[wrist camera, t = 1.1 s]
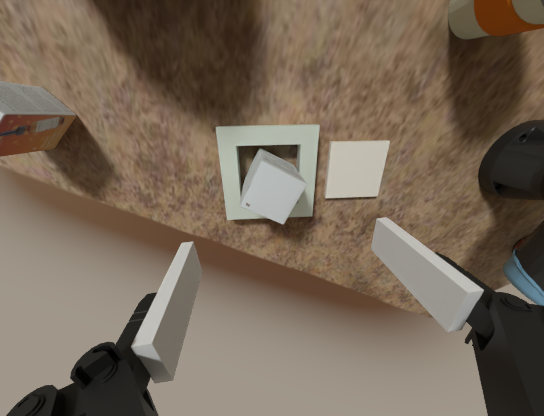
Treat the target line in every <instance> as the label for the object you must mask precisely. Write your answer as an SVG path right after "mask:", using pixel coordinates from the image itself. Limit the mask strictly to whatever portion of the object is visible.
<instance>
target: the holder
mask: <svg viewBox="0 0 544 416" xmlns="http://www.w3.org/2000/svg"><path fill="white" fill-rule="evenodd" d="M319 126H320V125H316V124H306V125H251V126H217V127H216V134H217V142H218V150H219V158H220V166H221V174H222V182H223V190H224V198H225V206H226V214H227V220H235V219H259V218H266V217H264V216H261V215H259V214H257V213H254V212H252V211H249V210H247V209H244V208H242V207H239V205H240V199H241V195H242V188H241V176H240V164H239V153H238V146H251V145H294V144H298V146H297V171H298V172H299V174H300V175H301V176H302V178H303V179H304V180H305V182H306V183H307V186H306V188H305V189H304V191H303V193H302V194H301V196H300V198H299V199H298V201H297V203H296V205H295V206H294V208H293V210H292V211H291V213H290V215H289V216H288V217H308V216H312V213H313V201H314V188H315V176H316V163H317V151H318V139H319Z"/></svg>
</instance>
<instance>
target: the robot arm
mask: <svg viewBox="0 0 544 416" xmlns="http://www.w3.org/2000/svg"><path fill="white" fill-rule="evenodd" d="M479 181H480V184H481V186H482V188H483V189H484V190H485V191H486V192H488V193H490V194H493V195H496V196H499V197H503V198H512V199H528V200H544V120H533V121H528V122H525V123H522V124H520V125H518V126H516V127H514V128H512V129H511V130H509V131H508V132H506V133H505V134H504V135H503V136H501V137H500V138H499V139H498V140H497V141H496V142H495V143H494V144H493V146H492V147H491V148H490V149H489V151H488V152H487V154H486V155H485V157H484V159H483V161H482V164H481V167H480V171H479ZM371 249H372V251H373V252H374V253H375V254H376V255H377V256H378V257H379V258H380V259H381V260H382V262H383V263H384V264H385V265H386V266H387V267H388V268H389V269H390V270H391V271H392V272H393V274H394V275H395V276H396V277H397V278H398V279H399V280H400V281H401V282H402V283H403V284H404V286H405V287H406V288H407V289H408V290H409V291H410V292H411V293H412V294H413V295H414V297H415V298H416V299H417V300H418V301H419V302H420V303H421V304H422V305H423V306H424V307H425V309H426V310H427V311H428V312H429V313H430V314H431V315H432V316H433V317H434V318H435V319H436V321H437V322H438V323H439V324H440V325H441V326H442V327H443V328H444V329H445V330H446V331H447V332H452V331H457V330H462V328H463V326H464V325H465V323H466V322H467V323H468V324H469V325H470V326H471V327H472V329H471V331H470V332H469V334H468V336H467V337H466V339H465V343H466V344H468V343H469V341H470V340H471V339H472V342H473V345H472V346H473V347H474V351H475V357H476V361H477V366H478V371H479V375H480V380H481V385H482V389H483V394H484V399H485V404H486V409H487V413H488V416H544V221H543V222H542V223H541V224H540V225H539V226H538V227H537V228H536V229H535V230H534V231H533V232H532V233H531V234H530V235H529V237H528V238H527V239H526V240H525V241H524V242H523V243H522V244H521V245H520V246H519V247H518V248H516V249H514V251H513V254H512V256H511V257H510V258H509V259H508V260H507V262H506V263H505V264H504V267H503V270H504V273H505V276H506V277H507V279H508V280H509V281H510V282H511V283H512V285H513V286H515V287H516V288H517V289H518V290H519V291H520V292H521V293H522V294H524V295H525V296H526V297H527V298H529V299H531V301H533V302H534V303H536V304H537V305H534V304H529V303H527V302H526V301H524V300H522V299H520V298H518V297H517V296H514V295H511V294H508V293H503V292H495V291H494V290H492V289H491V288H490V287H488V286H487V285H485V284H484V283H483V282H481V281H480V280H478V279H477V278H476V277H474V276H473V275H471V274H470V273H469V272H467V271H465V270H464V269H463V268H462V267H460V266H459V265H457V264H456V263H455V262H453V261H452V260H451V259H449V258H448V257H446V256H444V255H441V254H439V253H437V252H436V253H434V252H432V251H431V250H430V249H428V248H427V247H426V246H424V245H423V244H422V243H420V242H419V241H418V240H416V239H415V238H414V237H412V236H411V235H410V234H408V233H407V232H406V231H404V230H403V229H402V228H400V227H399V226H398V225H396V224H395V223H394V222H392V221H391V220H389V219H388V218H387V217H386V218H378V219H377V220H376V225H375V230H374V236H373V241H372V246H371ZM201 275H202V269H201V266H200V263H199V259H198V256H197V252H196V249H195V246H194V242H185V243H181V245H180V247H179V250H178V252H177V254H176V256H175V258H174V260H173V262H172V264H171V266H170V268H169V270H168V272H167V274H166V276H165V278H164V280H163V283H162V284H161V286H160V288H159V290H158V292H157V293H151V294H147V295H146V296H145V297H144V298H143V299H142V300H141V301H140V303H139V304H138V306H137V307H136V309H135V311H134V314H133V315H132V316H131V318H130V320H129V323H128V324H127V325H126V327H125V329H124V331H123V333H122V334H121V336H120V338H119V340H118V341H117V343H116V345H115V344H114V343H113V342H105V343H101V344H99V345H97V346H95V347H93V348H91V349H90V350H89V351H88V352H86V353H85V354H84V355H83V356H82V357H81V358H80V359H79V360H78V361H77V362H76V364H75V366H74V368H73V369H72V371H71V377H70V378H71V379H72V380H73V381H74V382H75V383H73V384H70V385H69V386H66V387H64V388H62V389H60V390H58V389H56V388H55V387H54V386H53V385H45V386H43V387H40V388H38V389H36V390H34V391H33V392H31V393H30V394H28V395H27V396H25V397H24V398H23V399H22V400H21V401H20V402H18V403H17V404H16V405H15V406H14V407H13V409H12V410H11V411H10V412H9V413H8V414H7V415H6V416H158V414H157V411H156V408H155V406H154V404H153V401H152V398H151V396H150V393H149V391H148V389H147V385H148V383H149V380H150V377H151V378H152V380H153V381H154V383H160V382H166V381H172V380H173V378H174V375H175V371H176V367H177V364H178V360H179V356H180V352H181V349H182V345H183V341H184V338H185V334H186V330H187V327H188V323H189V319H190V315H191V312H192V308H193V305H194V301H195V297H196V293H197V290H198V286H199V283H200V279H201Z"/></svg>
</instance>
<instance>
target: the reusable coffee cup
mask: <svg viewBox="0 0 544 416" xmlns="http://www.w3.org/2000/svg"><path fill="white" fill-rule="evenodd" d="M448 21H449V26H450V28H451V30H452V32H453V33H454V34H455V36H457V37H459V38H461V39H474V38H479V37H483V36H488V35H493V36H505V35H511V34H516V33H521V32H526V31H531V30H536V29H541V28H544V0H450V4H449V10H448Z"/></svg>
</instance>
